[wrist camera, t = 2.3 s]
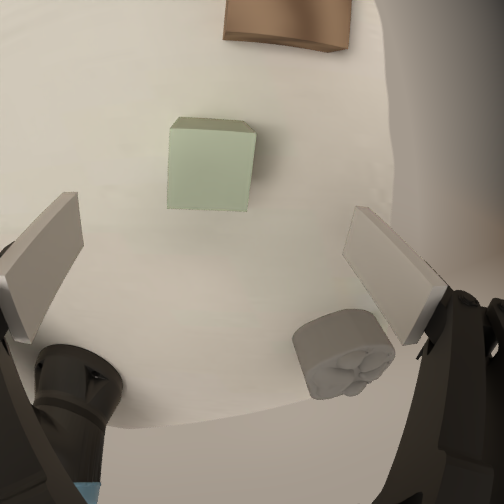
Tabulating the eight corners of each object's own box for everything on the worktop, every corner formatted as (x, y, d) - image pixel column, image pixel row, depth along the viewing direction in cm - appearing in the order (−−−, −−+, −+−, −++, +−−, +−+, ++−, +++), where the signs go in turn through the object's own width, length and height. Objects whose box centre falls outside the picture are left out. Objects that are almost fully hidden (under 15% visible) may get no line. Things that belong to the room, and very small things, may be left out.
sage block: (175, 177, 29) (167, 208, 23) (179, 117, 26) (169, 128, 20) (236, 180, 30) (246, 212, 24) (243, 121, 28) (256, 133, 21)
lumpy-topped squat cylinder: (288, 328, 42) (304, 377, 34) (374, 296, 41) (403, 338, 34) (301, 369, 47) (315, 413, 40) (376, 341, 47) (398, 381, 39)
